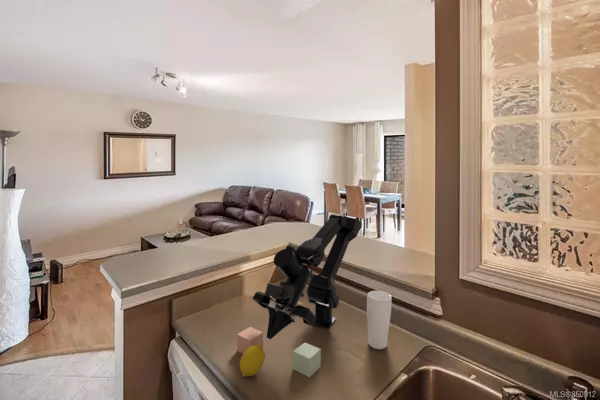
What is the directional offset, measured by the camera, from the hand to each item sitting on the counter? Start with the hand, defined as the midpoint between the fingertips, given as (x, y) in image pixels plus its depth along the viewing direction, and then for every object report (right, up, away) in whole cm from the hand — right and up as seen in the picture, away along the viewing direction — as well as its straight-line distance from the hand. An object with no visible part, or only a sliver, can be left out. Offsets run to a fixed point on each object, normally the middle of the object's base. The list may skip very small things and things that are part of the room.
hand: (268, 338), depth 83 cm
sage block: (+10, -7, -1) cm, 12 cm away
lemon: (-2, -1, -2) cm, 2 cm away
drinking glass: (+31, -6, +9) cm, 32 cm away
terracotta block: (-6, -6, +6) cm, 11 cm away
